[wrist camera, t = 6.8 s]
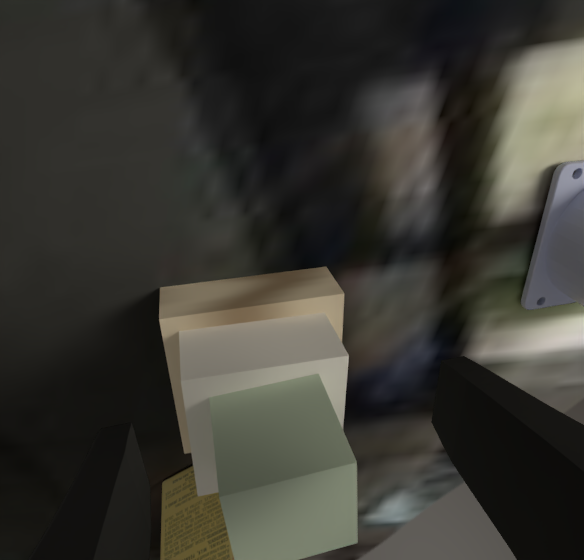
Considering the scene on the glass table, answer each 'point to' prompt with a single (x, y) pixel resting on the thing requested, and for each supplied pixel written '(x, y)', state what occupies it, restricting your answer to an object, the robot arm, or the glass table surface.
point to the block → (284, 471)
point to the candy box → (192, 522)
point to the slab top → (253, 371)
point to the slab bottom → (242, 311)
